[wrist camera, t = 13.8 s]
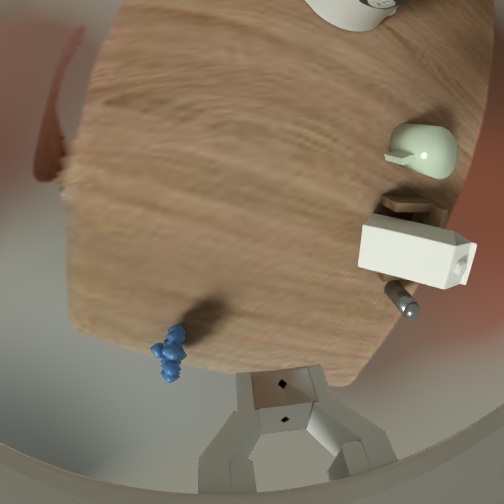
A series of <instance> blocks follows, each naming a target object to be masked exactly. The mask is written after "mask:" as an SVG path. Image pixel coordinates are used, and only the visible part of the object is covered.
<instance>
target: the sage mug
mask: <svg viewBox="0 0 504 504" xmlns="http://www.w3.org/2000/svg"><path fill="white" fill-rule="evenodd" d="M384 155H385V159H386V160H387V161H390V162H394V163H397V164H398V165H400V166H401V167H404V168H407V169H410V170H413V171H416V172H419V173H422V174H425V175H428V176H430V177H433V178H436V179H444V178H446V177H448V176H449V175H450V174H451V173H452V172H453V170H454V168H455V166H456V163H457V158H458V150H457V144H456V141H455V139H454V137H453V135H452V134H451V132H450V131H449V130H447V129H446V128H444V127H440V126H432V125H421V124H409V123H404V124H400V125H399V126H397V127H396V128H395V129H394V131H393V132H392V134H391V137H390V153H387V154H384Z"/></svg>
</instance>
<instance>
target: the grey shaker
mask: <svg viewBox="0 0 504 504" xmlns="http://www.w3.org/2000/svg"><path fill="white" fill-rule="evenodd" d="M384 291H385V293H386V295H387V296H388V297H389V298H390V300H391V301H392V302H393V303H394V304H395V306H396V307H397V308H398V309H399V311H400V312H401V313H402V314H403V315H404V317H405V318H407V319H414V318H416V317H417V316H418V315H419V313H420V306H419V304H418V302H417V301H416V300H415V299H414V298H413V297H412V296H411V295H410V294H409V293H408V291H407V290H406V289H405V288H404V287H403V286H402V285H401V284H400V283H399V282H398V281H397V280H392V281H389V282H388V283H387V284H386V286H385V289H384Z"/></svg>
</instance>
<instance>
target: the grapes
mask: <svg viewBox="0 0 504 504" xmlns="http://www.w3.org/2000/svg"><path fill="white" fill-rule="evenodd" d="M168 331H169V333H168V334H167V335H166V337H167V339H166V340H164V343H163V344H162V343H157V344H155V345H154V346H152V347H151V348H150V349H151V351H152V353H153V354H154V356H155V357H157V358H161V359H162V360H161V363H162V365H161V366H162V368H163V370H162V372H161V375H162V376H163V378H164V379H165V380H166V381H167V382H169V383H171V382H174V381H175V380H177V379H178V378H179V377H180V376H179V374H180V373H179V371H180V370H181V369H180V367H179V364H181V360H183V359H184V358H185V357H186V356H187V355H186V353H185V352H184V350H183V347H182V342H183V341H185V340H186V339H185V336H184V335H185V334H186V332H185V330H184V328H183V327H182V326H181V325H180V324H175V325H173V326H172V327H170V328H169V329H168Z"/></svg>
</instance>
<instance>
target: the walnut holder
mask: <svg viewBox="0 0 504 504" xmlns="http://www.w3.org/2000/svg"><path fill="white" fill-rule="evenodd" d="M381 204H383V205H384V206H386V207H388V208H389V209H391V210H393V211H394V212H413V218H412V222H417V223H421V224H426V225H430V226H434V227H438V228H442V229H445V225H446V220H447V215H448V209H446V208H444V207H442V206H440V205H438V204H436V203H434V202H432V201H430V200H428V199H426V198H424V197H422V196H400V195H381ZM374 272H375V273H376V274H377V275H378V276H379V277H380V278H381V280H382V281H383V282H384V281H392V280H400V279H403V278H400V277H396V276H392V275H388V274H384V273H380V272H377V271H374ZM424 285H426V284H424Z"/></svg>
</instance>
